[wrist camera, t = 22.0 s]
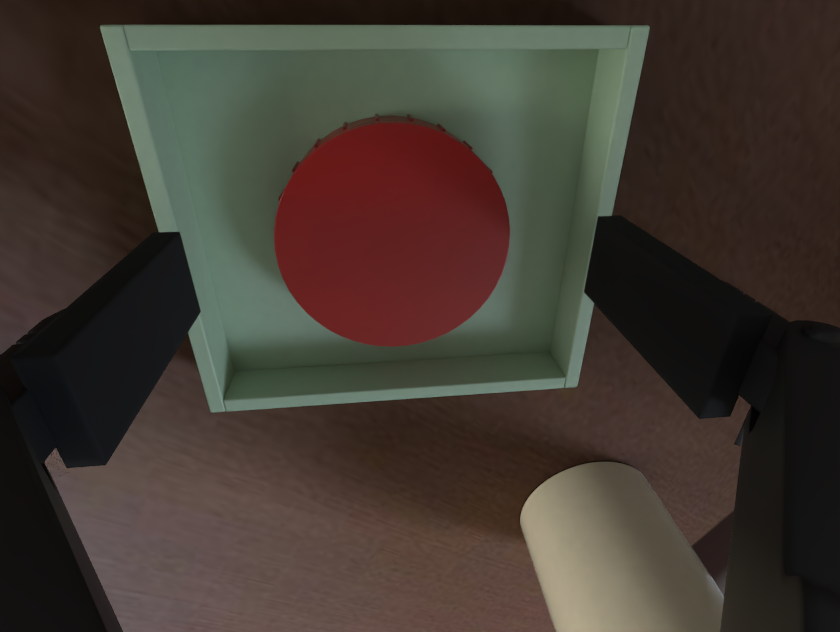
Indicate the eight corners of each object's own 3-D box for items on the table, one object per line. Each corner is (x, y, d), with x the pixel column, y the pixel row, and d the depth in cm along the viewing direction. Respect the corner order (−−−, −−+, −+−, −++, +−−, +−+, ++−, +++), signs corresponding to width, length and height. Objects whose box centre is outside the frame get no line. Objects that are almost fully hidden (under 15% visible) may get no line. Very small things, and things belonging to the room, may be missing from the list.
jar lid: (232, 190, 17) (218, 205, 15) (439, 64, 15) (448, 65, 14) (357, 355, 21) (356, 380, 19) (530, 265, 19) (545, 284, 18)
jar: (665, 455, 27) (822, 665, 18) (634, 544, 31) (748, 754, 21) (527, 467, 26) (616, 692, 17) (513, 557, 30) (579, 779, 21)
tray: (611, 28, 16) (651, 25, 14) (556, 354, 22) (577, 387, 20) (137, 28, 14) (97, 24, 12) (225, 375, 21) (210, 413, 19)
